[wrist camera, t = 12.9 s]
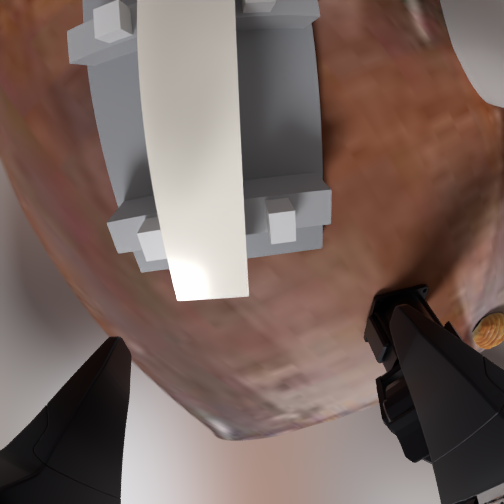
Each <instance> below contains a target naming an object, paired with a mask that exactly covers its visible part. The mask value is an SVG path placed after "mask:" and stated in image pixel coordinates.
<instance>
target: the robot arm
mask: <svg viewBox="0 0 504 504" xmlns="http://www.w3.org/2000/svg"><path fill="white" fill-rule="evenodd" d="M428 289H429V288H428V286H427V285H420V286H416V287H412V288H408V289H404V290H399V291H395V292H391V293H386V294H382V295H378V296H376V297H375V298H374V300H373V304H372V308H371V312H370V316H369V317H368V321H367V325H366V329H365V332H364V333H365V335H364V340H365V342H369V344H370V346H371V349H372V351H373V353H374V355H375V358H376V360H377V362H378V363H382V362H383V365H384V367H385V369H386V371H387V373H385V374H384V375H382V376H380V377H378V378H377V379H376V385H377V393H378V398H379V403H380V409H381V415H382V419H383V421H384V424H385V425H387V427H388V428H389V429H390V430H391V432H392V433H394V434H395V435H396V436H397V438H398V440H399V442H400V444H401V446H402V449H403V452H404V454H405V456H406V458H408V459H409V460H410V461H412V462H414V463H416V462H418V461H420V460H424V461H426V462H429V463H431V464H432V465H433V469H434V473H435V477H436V482H437V486H438V491H439V495H440V500H441V504H504V370H503V369H501V368H500V367H498V366H497V365H496V364H494V363H493V362H491V361H490V360H488V359H487V358H486V357H484V356H482V355H481V354H480V353H479V352H477V351H476V350H474V349H473V348H472V347H470V346H469V345H467V344H466V343H465V342H464V340H463V339H462V337H461V336H460V335H459V333H458V332H457V331H456V329H455V328H454V327H453V325H452V324H451V323H450V322H449V321H448V322H447V323H446V324H445V326H444V327H443V325H442V324H441V322H440V321H439V319H438V318H437V317H436V315H435V314H434V312H433V311H432V309H431V308H430V306H429V305H428V304H427V302H426V301H425V298H426V295H427V292H428ZM130 373H131V353H130V351H129V349H128V347H127V346H126V344H125V342H124V341H123V339H122V338H121V337H109V338H108V339H107V340H106V341H105V342H104V343H103V344H102V345H101V346H100V347H99V348H98V349H97V350H96V351H95V352H94V353H93V355H91V357H90V358H89V359H88V360H87V361H86V362H85V363H84V364H83V365H82V366H81V367H80V368H79V369H78V370H77V372H76V373H75V374H74V375H73V376H72V377H71V378H70V379H69V380H68V381H67V383H65V385H64V386H63V387H62V388H61V389H60V390H59V391H58V392H57V394H56V395H55V396H54V397H53V398H52V399H51V400H50V401H49V402H48V404H47V405H46V406H45V407H44V408H43V409H42V410H41V412H40V413H39V414H38V415H37V416H36V417H35V418H34V419H33V420H32V421H31V423H30V424H28V426H26V427H25V428H24V429H23V430H22V431H21V432H20V433H19V434H18V435H17V436H16V437H15V438H14V439H13V440H12V441H11V442H10V443H9V444H8V445H7V446H6V447H5V448H3V449H2V450H0V504H121V499H120V497H121V474H122V460H123V459H122V458H123V448H124V437H125V428H126V419H127V412H128V404H129V394H130Z"/></svg>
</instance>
